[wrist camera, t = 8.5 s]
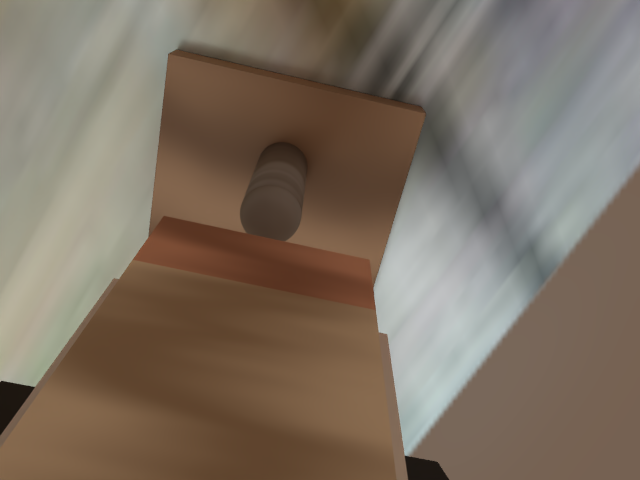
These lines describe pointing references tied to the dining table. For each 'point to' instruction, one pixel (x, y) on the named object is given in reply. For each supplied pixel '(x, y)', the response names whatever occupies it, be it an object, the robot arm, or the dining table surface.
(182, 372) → the sleeve
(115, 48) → the dining table surface
